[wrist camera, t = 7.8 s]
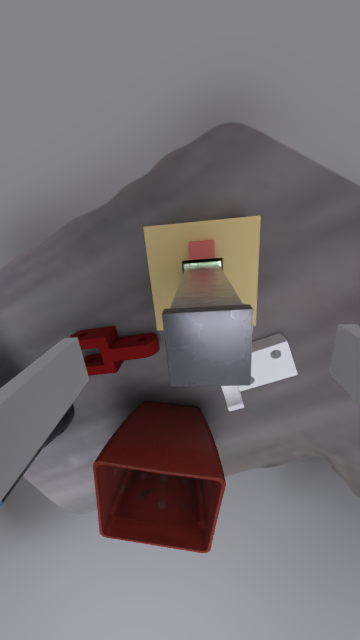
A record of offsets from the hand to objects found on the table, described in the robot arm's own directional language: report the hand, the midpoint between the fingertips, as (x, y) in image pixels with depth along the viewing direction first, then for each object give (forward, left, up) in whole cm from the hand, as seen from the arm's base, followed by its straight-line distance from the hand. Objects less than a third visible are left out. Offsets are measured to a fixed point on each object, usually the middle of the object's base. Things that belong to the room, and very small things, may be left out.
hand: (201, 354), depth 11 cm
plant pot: (-9, -34, -27) cm, 44 cm away
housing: (0, 0, -27) cm, 27 cm away
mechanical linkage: (-16, -13, -27) cm, 34 cm away
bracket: (+9, -17, -27) cm, 34 cm away
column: (0, 0, -21) cm, 21 cm away
